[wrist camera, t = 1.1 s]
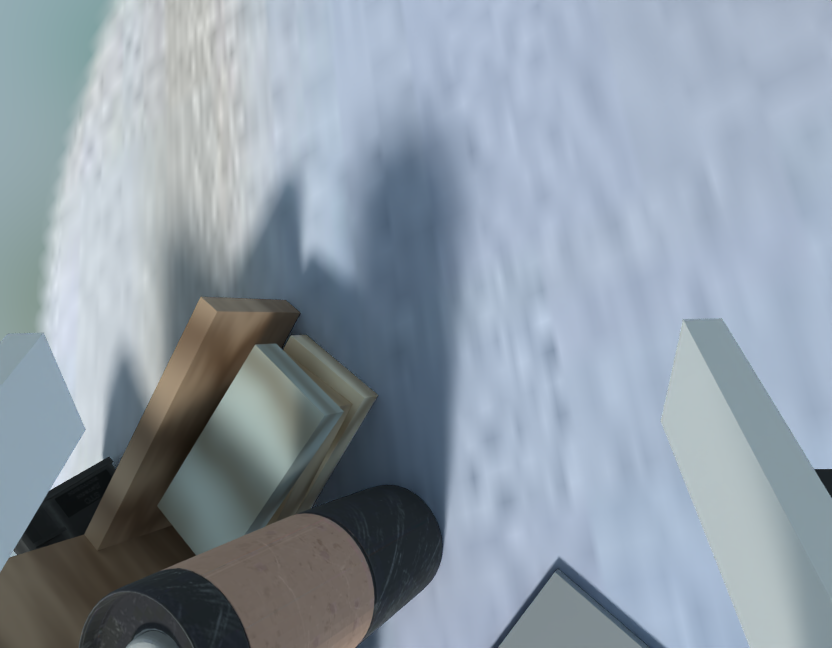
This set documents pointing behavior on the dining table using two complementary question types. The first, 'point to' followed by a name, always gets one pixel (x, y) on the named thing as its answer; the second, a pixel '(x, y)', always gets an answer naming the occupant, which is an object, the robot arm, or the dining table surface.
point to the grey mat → (568, 621)
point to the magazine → (67, 508)
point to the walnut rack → (138, 482)
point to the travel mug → (284, 581)
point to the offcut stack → (267, 444)
